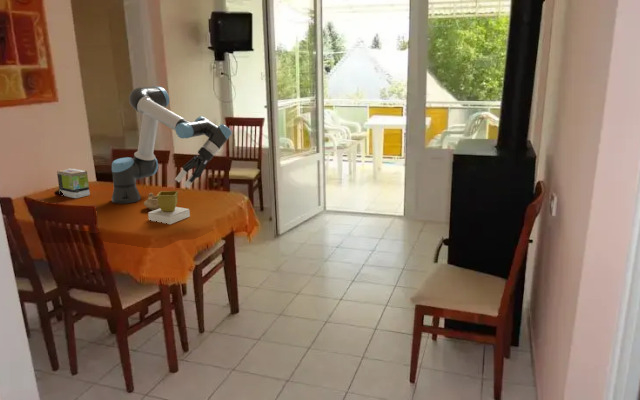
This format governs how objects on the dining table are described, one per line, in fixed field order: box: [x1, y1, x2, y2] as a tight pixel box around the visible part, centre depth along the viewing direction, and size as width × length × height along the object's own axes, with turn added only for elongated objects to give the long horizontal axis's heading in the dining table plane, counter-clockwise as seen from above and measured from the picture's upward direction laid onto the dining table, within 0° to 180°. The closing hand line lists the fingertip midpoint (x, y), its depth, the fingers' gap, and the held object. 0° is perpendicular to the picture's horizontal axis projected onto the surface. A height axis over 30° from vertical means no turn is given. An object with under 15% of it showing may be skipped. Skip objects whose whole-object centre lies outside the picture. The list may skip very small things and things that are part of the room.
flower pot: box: [156, 190, 179, 212], centre depth 251 cm, size 9×9×9 cm
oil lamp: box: [143, 192, 160, 211], centre depth 267 cm, size 11×15×8 cm
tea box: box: [56, 167, 91, 199], centre depth 293 cm, size 15×10×15 cm, turn 58°
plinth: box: [147, 206, 191, 225], centre depth 252 cm, size 14×14×4 cm
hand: (180, 183), depth 251 cm, fingers open, 13 cm apart
